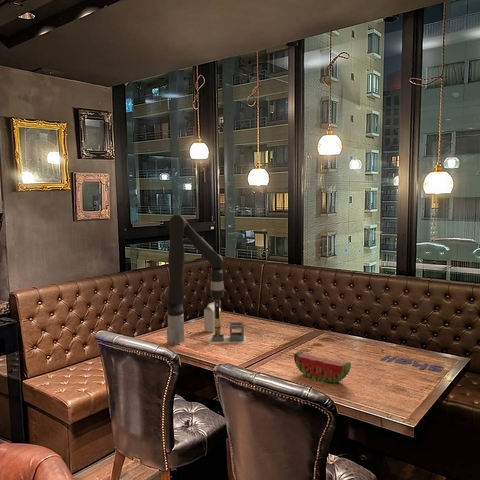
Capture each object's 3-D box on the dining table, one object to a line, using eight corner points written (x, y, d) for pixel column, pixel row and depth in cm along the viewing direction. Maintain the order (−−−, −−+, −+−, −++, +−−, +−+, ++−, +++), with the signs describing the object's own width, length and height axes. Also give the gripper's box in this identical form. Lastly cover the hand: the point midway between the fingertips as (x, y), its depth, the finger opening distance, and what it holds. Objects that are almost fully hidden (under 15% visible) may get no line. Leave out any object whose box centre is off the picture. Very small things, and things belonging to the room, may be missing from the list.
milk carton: (220, 331, 276) (219, 302, 274) (213, 334, 270) (212, 304, 268) (211, 330, 280) (210, 301, 278) (204, 333, 274) (203, 303, 272)
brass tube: (217, 336, 252) (217, 309, 251) (213, 334, 255) (212, 307, 254) (222, 334, 255) (221, 307, 254) (217, 333, 258) (217, 306, 256)
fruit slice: (293, 374, 206) (293, 354, 205) (300, 370, 211) (300, 350, 210) (345, 388, 190) (345, 366, 189) (351, 383, 194) (351, 361, 194)
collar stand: (212, 341, 251) (211, 326, 251) (212, 337, 259) (212, 322, 259) (243, 341, 252) (243, 325, 251) (243, 336, 260) (243, 322, 259)
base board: (208, 346, 249) (208, 343, 248) (209, 338, 262) (209, 336, 262) (246, 345, 249) (246, 342, 249) (245, 337, 263) (245, 335, 263)
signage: (444, 366, 212) (438, 372, 204) (444, 367, 212) (438, 374, 204) (387, 354, 230) (380, 359, 222) (387, 355, 230) (380, 361, 222)
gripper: (223, 291, 246) (223, 320, 247) (223, 286, 260) (224, 314, 261) (210, 291, 246) (210, 321, 247) (211, 286, 260) (211, 314, 261)
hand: (217, 317), depth 254 cm, fingers closed on brass tube, 3 cm apart
